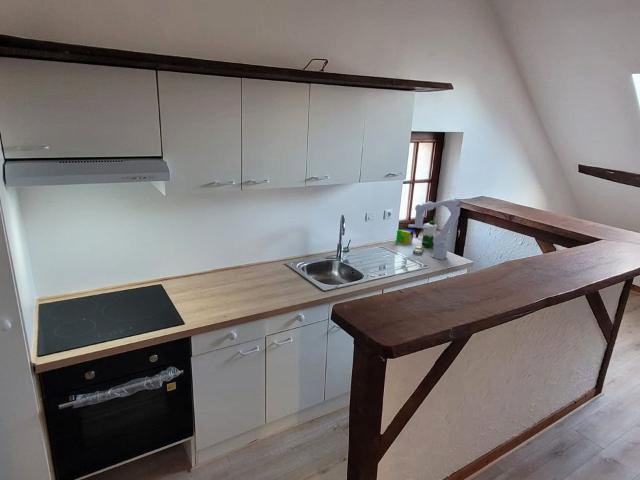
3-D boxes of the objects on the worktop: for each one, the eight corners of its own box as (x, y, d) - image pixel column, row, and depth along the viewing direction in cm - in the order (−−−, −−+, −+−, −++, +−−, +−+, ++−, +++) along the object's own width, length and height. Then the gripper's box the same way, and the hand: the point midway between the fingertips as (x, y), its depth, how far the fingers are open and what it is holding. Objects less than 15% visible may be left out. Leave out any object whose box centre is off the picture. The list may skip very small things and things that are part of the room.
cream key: (421, 249, 307) (421, 247, 307) (415, 249, 308) (415, 247, 308) (421, 248, 311) (421, 246, 310) (416, 247, 312) (416, 245, 311)
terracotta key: (421, 247, 312) (422, 246, 311) (416, 247, 313) (416, 245, 312) (422, 246, 315) (422, 244, 315) (417, 245, 317) (417, 243, 316)
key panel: (421, 255, 301) (421, 252, 301) (412, 253, 303) (413, 251, 302) (423, 248, 317) (423, 246, 316) (415, 247, 318) (415, 244, 318)
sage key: (420, 253, 303) (420, 251, 302) (414, 252, 304) (414, 250, 303) (420, 251, 306) (420, 249, 306) (415, 250, 307) (415, 249, 307)
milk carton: (435, 246, 323) (438, 222, 317) (429, 248, 317) (432, 223, 311) (425, 244, 329) (429, 219, 323) (419, 246, 323) (422, 221, 317)
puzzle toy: (412, 241, 333) (413, 230, 330) (407, 244, 325) (409, 232, 322) (400, 239, 338) (401, 227, 335) (396, 242, 330) (397, 230, 327)
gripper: (429, 220, 306) (427, 237, 310) (409, 217, 310) (407, 234, 314) (428, 222, 299) (426, 240, 303) (408, 219, 303) (406, 237, 307)
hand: (416, 237), depth 308 cm, fingers closed
